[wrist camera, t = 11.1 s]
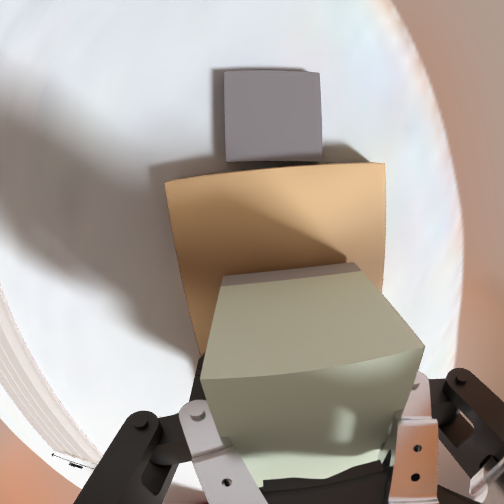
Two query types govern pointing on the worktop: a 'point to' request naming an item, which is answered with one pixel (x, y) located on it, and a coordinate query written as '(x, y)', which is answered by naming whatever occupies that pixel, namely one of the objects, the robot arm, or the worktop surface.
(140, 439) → the robot arm
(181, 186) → the oak board
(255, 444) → the block
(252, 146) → the gray square tile
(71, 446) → the baseboard
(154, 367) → the worktop surface
